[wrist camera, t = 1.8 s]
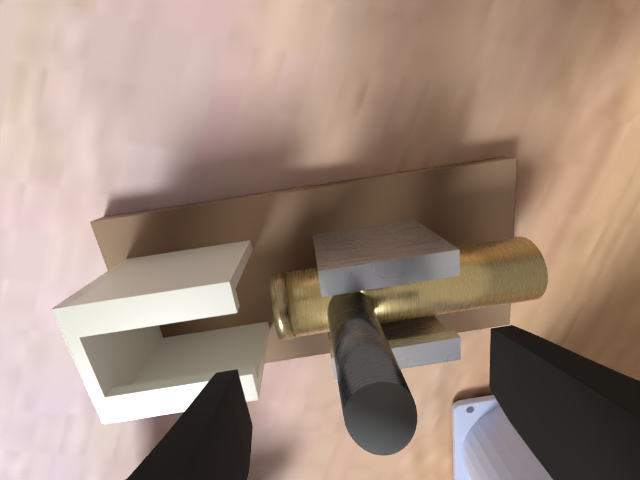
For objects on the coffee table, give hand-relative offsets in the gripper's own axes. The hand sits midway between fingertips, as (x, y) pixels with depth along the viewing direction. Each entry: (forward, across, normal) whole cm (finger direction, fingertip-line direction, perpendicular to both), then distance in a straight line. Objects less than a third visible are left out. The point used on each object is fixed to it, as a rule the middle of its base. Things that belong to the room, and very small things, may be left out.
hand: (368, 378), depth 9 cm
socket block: (+8, +7, 0) cm, 11 cm away
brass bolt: (+7, -3, 0) cm, 7 cm away
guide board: (+8, +1, 0) cm, 9 cm away
